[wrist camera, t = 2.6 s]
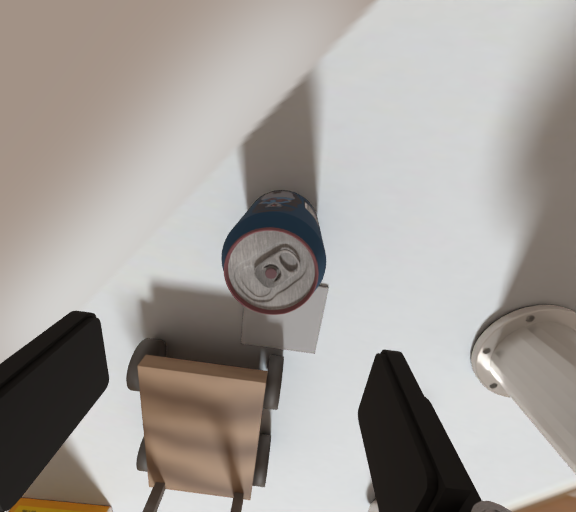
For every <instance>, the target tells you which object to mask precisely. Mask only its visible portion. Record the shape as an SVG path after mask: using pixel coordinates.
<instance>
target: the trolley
mask: <svg viewBox="0 0 576 512" xmlns="http://www.w3.org/2000/svg"><path fill="white" fill-rule="evenodd" d="M283 361H284V357H282V356H275V355H270V359H269V366H268V371H263V370H256V369H249V368H241V367H234V366H226V365H219V364H212V363H204V362H197V361H189V360H182V359H175V358H167V357H166V345H165V342H164V341H163V340H157V339H150V338H146V339H144V340H143V341H142V342H141V343H140V344H139V345H138V346H137V348H136V349H135V351H134V353H133V355H132V357H131V360H130V363H129V366H128V370H127V378H126V381H127V387H128V388H129V389H130V390H133V391H140V398H141V408H142V418H143V429H144V437H143V440H142V442H141V445H140V448H139V452H138V456H137V464H136V465H137V470H139V471H146V472H148V480H149V487H153V489H152V491H151V494H150V496H149V498H148V501H147V503H146V505H145V508H144V510H143V512H157V509H158V506H159V504H160V501H161V499H162V496H163V494H164V491H165V489H170V490H178V491H185V492H193V493H200V494H208V495H215V496H223V497H231V498H233V503H232V508H231V512H241V510H242V504H243V499H246V500H250V498H251V491H252V486H260V487H265V483H266V476H267V469H268V460H269V452H270V442H271V435H265V434H259V432H260V425H261V417H262V410H263V408H267V409H275V410H277V409H278V403H279V396H280V389H281V381H282V372H283ZM258 440H259V441H258ZM257 447H258V448H257Z"/></svg>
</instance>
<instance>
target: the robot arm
mask: <svg viewBox="0 0 576 512" xmlns="http://www.w3.org/2000/svg"><path fill="white" fill-rule="evenodd" d="M471 364H472V369H473V372H474V373H475V375H476V377H477V378H478V379H479V381H480V382H481V383H482V385H483V386H485V387H486V388H487V389H488V390H490V391H492V392H494V393H495V394H498V395H501V396H505V397H511V398H512V399H513V400H514V402H515V403H516V404H517V405H518V406H519V408H520V409H521V410H522V411H523V412H524V414H525V415H526V416H527V417H528V418H529V420H530V421H531V422H532V423H533V424H534V425H535V427H536V428H537V429H538V430H539V431H540V433H541V434H542V435H543V436H544V437H545V439H546V440H547V441H548V442H549V443H550V444H551V446H552V447H553V448H554V449H555V450H556V452H557V453H558V454H559V455H560V456H561V458H562V459H563V460H564V461H565V462H566V463H567V465H568V466H569V467H570V468H571V469H572V471H573V472H574V473H575V474H576V312H574V311H572V310H570V309H567V308H564V307H561V306H555V305H536V306H530V307H525V308H522V309H519V310H516V311H513V312H511V313H509V314H507V315H505V316H503V317H501V318H500V319H498V320H497V321H495V322H494V323H493V324H491V325H490V326H489V327H488V328H487V329H486V330H485V331H484V332H483V333H482V335H481V336H480V337H479V338H478V340H477V342H476V344H475V346H474V348H473V352H472V355H471ZM108 383H109V374H108V368H107V361H106V355H105V348H104V342H103V335H102V329H101V323H100V320H99V319H98V318H96V315H95V314H94V313H89V312H81V311H72V312H70V313H69V314H67V315H66V316H65V317H63V318H62V319H61V320H59V321H58V322H56V323H55V324H54V325H52V326H51V327H50V328H48V329H47V330H46V331H44V332H43V333H42V334H40V335H39V336H38V337H36V338H35V339H33V340H32V341H31V342H29V343H28V344H27V345H25V346H24V347H23V348H21V349H20V350H19V351H17V352H16V353H14V354H13V355H12V356H10V357H9V358H8V359H6V360H5V361H4V362H2V363H1V364H0V512H4V511H7V510H9V509H11V508H12V507H13V506H14V505H15V504H16V503H17V502H18V501H19V499H20V498H21V497H22V496H23V494H24V493H25V492H26V490H27V489H28V488H29V487H30V485H31V484H32V483H33V482H34V480H35V479H36V478H37V476H38V475H39V474H40V473H41V471H42V470H43V469H44V467H45V466H46V465H47V464H48V462H49V461H50V460H51V459H52V457H53V456H54V455H55V453H56V452H57V451H58V450H59V448H60V447H61V446H62V444H63V443H64V442H65V441H66V439H67V438H68V437H69V436H70V434H71V433H72V432H73V430H74V429H75V428H76V427H77V425H78V424H79V423H80V421H81V420H82V419H83V418H84V416H85V415H86V414H87V413H88V411H89V410H90V409H91V407H92V406H93V405H94V404H95V402H96V401H97V400H98V399H99V397H100V396H101V395H102V393H103V392H104V391H105V389H106V388H107V386H108ZM358 420H359V425H360V429H361V434H362V438H363V443H364V447H365V452H366V456H367V461H368V465H369V469H370V474H371V478H372V483H373V487H374V492H375V496H376V501H377V505H378V509H379V512H511V511H510V510H508V509H506V508H505V507H503V506H501V505H499V504H496V503H494V502H491V501H482V500H481V498H480V496H479V495H478V493H477V491H476V489H475V487H474V485H473V483H472V481H471V479H470V477H469V475H468V473H467V471H466V470H465V468H464V466H463V464H462V462H461V460H460V458H459V456H458V454H457V452H456V450H455V448H454V446H453V445H452V443H451V441H450V439H449V437H448V435H447V433H446V431H445V429H444V427H443V425H442V423H441V422H440V420H439V418H438V416H437V414H436V412H435V410H434V408H433V406H432V404H431V403H430V401H429V400H428V399H427V398H426V397H424V395H423V393H422V391H421V389H420V387H419V385H418V383H417V381H416V379H415V377H414V375H413V373H412V371H411V369H410V367H409V365H408V363H407V362H406V360H405V358H404V356H403V354H402V353H401V352H399V351H391V350H382V352H381V354H379V353H377V354H376V356H375V359H374V362H373V365H372V368H371V371H370V374H369V378H368V381H367V384H366V387H365V390H364V393H363V396H362V399H361V403H360V406H359V409H358Z"/></svg>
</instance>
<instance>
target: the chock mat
mask: <svg viewBox="0 0 576 512" xmlns="http://www.w3.org/2000/svg"><path fill="white" fill-rule="evenodd" d="M328 289H329V288H328V287H324V286H318V288H317V289H316V290H315V292H314V293H313V294H312V296H311V297H310V298H309V300H308V301H307V302H306V303H304V304H303V305H302V306H301V307H299V308H297V309H296V310H294V311H292V312H289V313H286V314H280V315H268V314H262V313H258V312H255V311H253V310H250V309H248V308H247V307H245V306H244V311H243V323H242V335H241V344H247V345H254V346H262V347H269V348H276V349H284V350H291V351H298V352H306V353H313V354H315V350H316V345H317V341H318V336H319V331H320V326H321V322H322V317H323V312H324V307H325V303H326V298H327V293H328Z"/></svg>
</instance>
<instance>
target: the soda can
mask: <svg viewBox="0 0 576 512" xmlns="http://www.w3.org/2000/svg"><path fill="white" fill-rule="evenodd" d="M222 266H223V271H224V277H225V281H226V284H227V286H228V289H229V290H230V292H231V294H232V295H233V296H234V297H235V299H236V300H237V301H238V302H240V303H241V304H242V305H243V306H245V307H247V308H248V309H250V310H253V311H255V312H258V313H262V314H268V315H280V314H286V313H289V312H292V311H294V310H296V309H297V308H299V307H301V306H302V305H303V304H304V303H306V302H307V301H308V300H309V298H310V297H311V296H312V294H313V293H314V292H315V290H316V289H317V288H318V286H319V285H320V283H321V281H322V279H323V276H324V273H325V269H326V255H325V250H324V245H323V241H322V236H321V232H320V227H319V223H318V218H317V215H316V212H315V210H314V208H313V207H312V205H311V204H310V203H309V202H308V201H307V200H306V199H305V198H304V197H302V196H300V195H299V194H297V193H294V192H291V191H285V190H279V191H273V192H269V193H267V194H265V195H263V196H261V197H260V198H259V199H258V200H256V201H255V203H254V204H253V205H252V206H251V207H250V209H249V210H248V211H247V212H246V213H245V215H244V216H243V217H242V218H241V219H240V221H239V222H238V223H237V224H236V225H235V227H234V228H233V229H232V230H231V232H230V233H229V234H228V236H227V238H226V240H225V243H224V246H223V250H222Z"/></svg>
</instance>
